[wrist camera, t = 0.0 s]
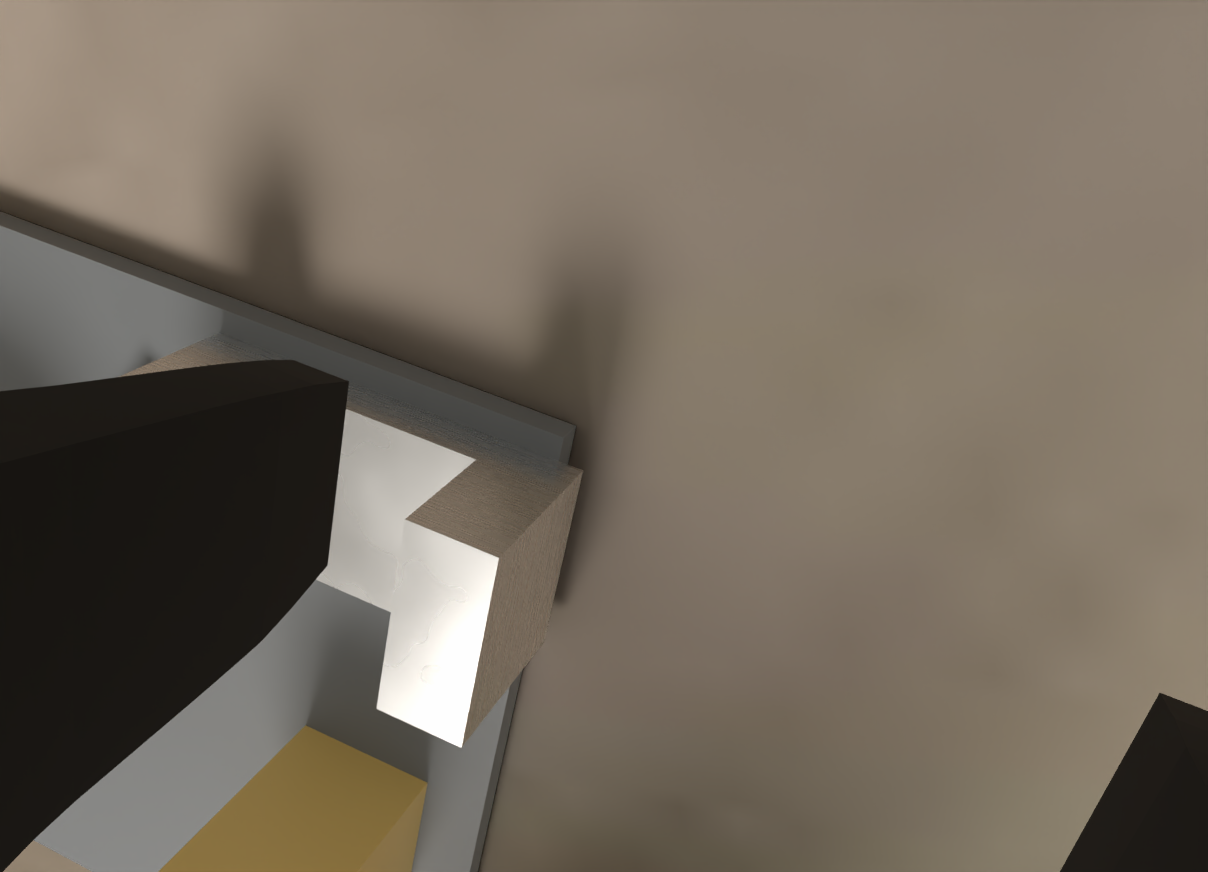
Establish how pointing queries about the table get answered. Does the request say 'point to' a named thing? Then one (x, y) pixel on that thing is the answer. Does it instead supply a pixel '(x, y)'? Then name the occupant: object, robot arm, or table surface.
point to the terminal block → (436, 546)
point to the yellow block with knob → (313, 815)
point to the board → (312, 626)
